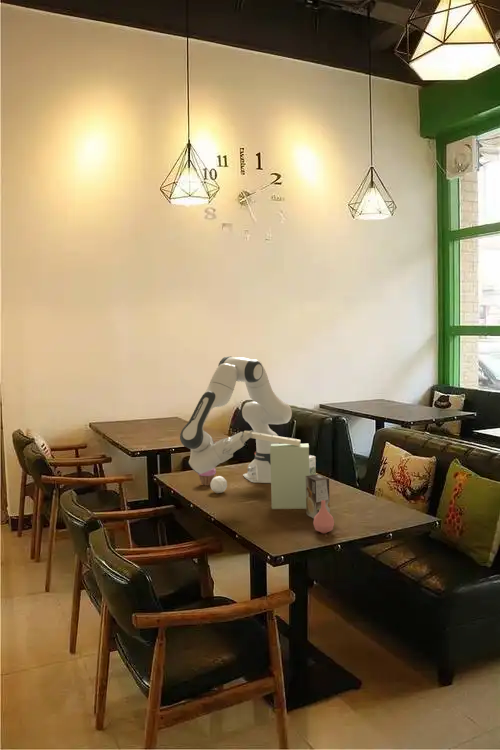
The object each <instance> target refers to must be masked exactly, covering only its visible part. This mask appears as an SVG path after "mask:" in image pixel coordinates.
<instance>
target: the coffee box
mask: <svg viewBox="0 0 500 750" xmlns="http://www.w3.org/2000/svg"><path fill="white" fill-rule="evenodd" d="M305 477H306V509H305V511H306V515H307V516H308V517H310V518H312V519H314V517H315V516H316V515H317V514H318V512H319V511H320V509H321V501H322V500H325V507H326V509H327V511H328V512H329V513H330V514H331V508H330V505H331V504H330V499H331V498H330V478H328V477H326V476H323V475H321V474H319V473H318V474H317V473H316V475H310V476H305Z"/></svg>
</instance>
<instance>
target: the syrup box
mask: <svg viewBox="0 0 500 750" xmlns="http://www.w3.org/2000/svg"><path fill="white" fill-rule="evenodd" d="M316 458H317V457H316V456H315V455H311V454H309V476H310V475H316V474H317V470H316V467H317V466H316V462H317V460H316Z"/></svg>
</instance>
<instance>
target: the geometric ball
mask: <svg viewBox="0 0 500 750" xmlns="http://www.w3.org/2000/svg"><path fill="white" fill-rule="evenodd" d="M209 486H210V488H211V491H212V492H214V493H216V494H221V493H223V492H225V491H226V490H227V487H228V481H227V479H225V477H223V476H222V475H218V476H217V475H216V476H214V478H213V479H212V481H211V483H210V485H209Z"/></svg>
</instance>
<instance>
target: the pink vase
mask: <svg viewBox="0 0 500 750" xmlns="http://www.w3.org/2000/svg"><path fill="white" fill-rule="evenodd" d="M312 522H313V523H312V524H313V528H314V530H315V531H316V532H320V534H327V533H328V532H331V531H333V529H334V526H335V521H334V517H333V516H332V514H331V512H330V513H329V512H328V511H327V509H326V507H325V500H322V501H321V509H320V511H319V512H318V514H317V515H316V516H315V517H314V518H313V521H312Z"/></svg>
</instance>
